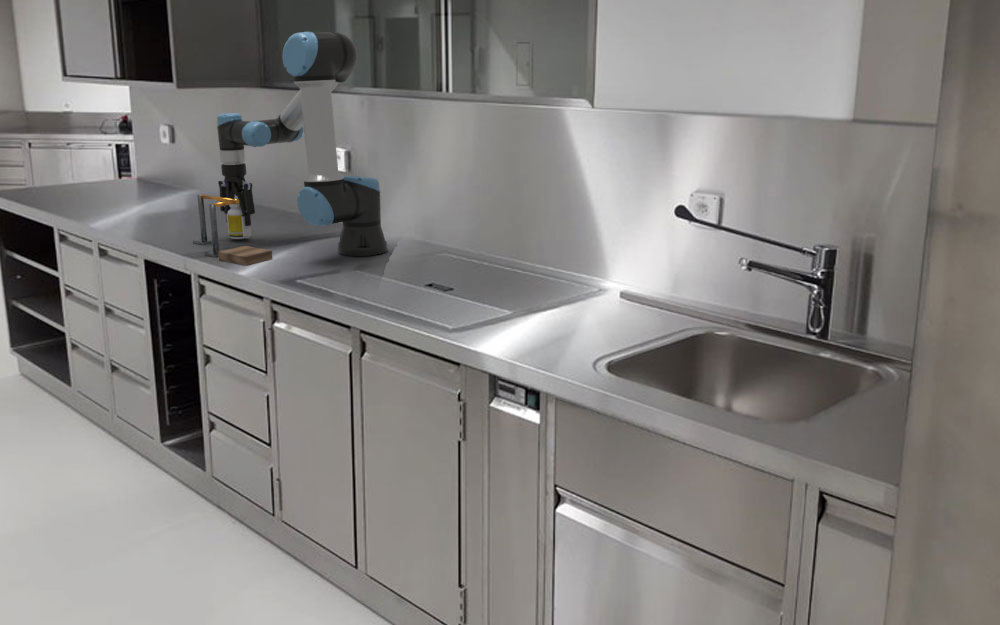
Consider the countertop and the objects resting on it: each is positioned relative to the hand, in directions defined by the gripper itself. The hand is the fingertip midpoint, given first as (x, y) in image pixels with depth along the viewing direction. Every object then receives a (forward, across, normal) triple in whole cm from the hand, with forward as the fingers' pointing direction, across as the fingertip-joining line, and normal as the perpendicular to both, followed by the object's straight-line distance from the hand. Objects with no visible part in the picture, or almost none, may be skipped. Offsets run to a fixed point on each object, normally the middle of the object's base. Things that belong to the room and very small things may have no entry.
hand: (239, 234), depth 300 cm
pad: (+2, -23, +17) cm, 28 cm away
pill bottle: (+1, 0, 0) cm, 1 cm away
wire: (+2, -2, +13) cm, 14 cm away
